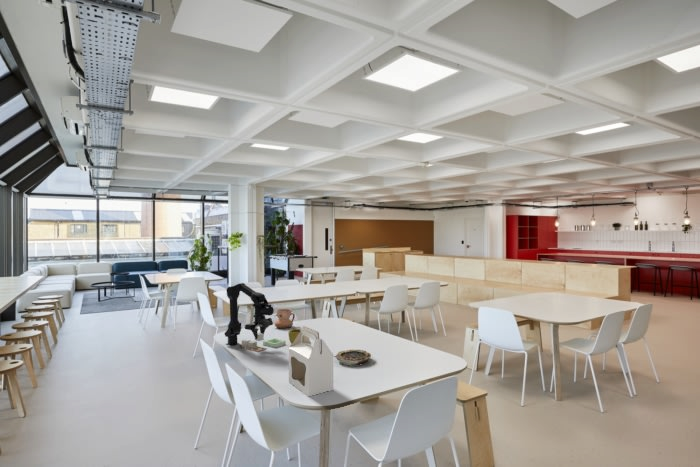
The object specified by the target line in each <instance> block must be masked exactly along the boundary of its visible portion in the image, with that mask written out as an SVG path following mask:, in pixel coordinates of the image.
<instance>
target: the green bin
mask: <svg viewBox="0 0 700 467" xmlns="http://www.w3.org/2000/svg"><path fill="white" fill-rule="evenodd" d="M262 346H265V347H270V348H275V349H276V348H279V347H282V346H286V340H283V339H279V338H269V339H266V340H262Z"/></svg>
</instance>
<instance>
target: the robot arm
mask: <svg viewBox="0 0 700 467" xmlns="http://www.w3.org/2000/svg"><path fill="white" fill-rule="evenodd" d="M240 293H242V294H245V295H246V296H248V297H249V298H250V300H251V301H252V303H253V304H252V305H251V307H253V308H254V315H252V317H253V318H254V321H253V323H246V324H245V325H244V329H245V330H249V331H251V332H252V334H253V337H254V339H255V338H256V339H257V333H258V331H260V332H259V333H263V334H264V335H265V332H266V329H267V328H269V327H270V326H273V325H274V322H273V319H272V318H271V317H268V318H266V316H272V315H274V307H273V306H272V304H270V303H269V302H268V299H267V298H266V295H265V294H264V293H261V292H259V291H256V290H254V289H252V288H250V287H249V286H247V285H246V283H244V282H240V283H237V284H235V285H232V286H228V287H227V288H226V297H227V298H228V299H229V322H228V324H227V329H226V331H225V332H224V336H225V337H227V343H225V345H227V346H230V347H233V346H235V345H236V346H237V345H239V344H240V343H239V342H238V336H239V335H240V334H241V331H242V328H243V327H242V322H240V321H239V316H238V313H239V312H238V311H239V310H238V307H239V306H238V298H239V297H240ZM258 327H259V328H258Z"/></svg>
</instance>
